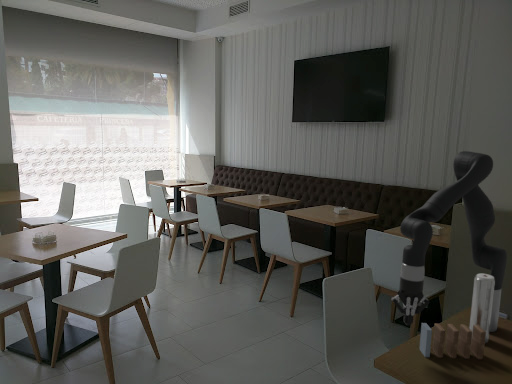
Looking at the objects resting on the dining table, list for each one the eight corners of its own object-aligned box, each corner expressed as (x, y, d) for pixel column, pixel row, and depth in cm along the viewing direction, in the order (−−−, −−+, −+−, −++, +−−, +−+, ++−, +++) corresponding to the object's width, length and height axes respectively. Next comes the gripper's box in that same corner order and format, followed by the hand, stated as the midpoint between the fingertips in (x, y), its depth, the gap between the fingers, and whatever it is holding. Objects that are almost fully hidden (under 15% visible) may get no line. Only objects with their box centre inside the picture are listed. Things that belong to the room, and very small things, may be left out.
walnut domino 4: (478, 359, 135) (481, 331, 133) (470, 351, 140) (473, 324, 138) (482, 359, 135) (485, 332, 133) (475, 351, 140) (478, 324, 138)
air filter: (488, 337, 149) (495, 274, 146) (488, 345, 144) (495, 280, 140) (468, 332, 152) (475, 271, 149) (468, 340, 147) (474, 276, 143)
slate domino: (424, 349, 140) (426, 323, 139) (429, 357, 135) (432, 330, 134) (419, 349, 140) (421, 322, 139) (424, 357, 135) (427, 329, 134)
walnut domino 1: (438, 357, 135) (440, 330, 134) (432, 349, 140) (434, 323, 138) (442, 357, 135) (445, 330, 134) (436, 349, 140) (439, 323, 138)
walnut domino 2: (451, 358, 135) (454, 330, 133) (445, 350, 140) (447, 323, 138) (456, 358, 135) (458, 331, 133) (449, 350, 140) (452, 324, 138)
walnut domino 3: (464, 358, 135) (467, 331, 133) (457, 350, 140) (460, 324, 138) (469, 358, 135) (472, 331, 133) (462, 350, 140) (465, 324, 138)
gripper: (396, 279, 130) (392, 328, 133) (436, 281, 130) (431, 330, 132) (389, 271, 138) (385, 318, 140) (427, 273, 137) (422, 320, 140)
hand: (407, 324), depth 136 cm, fingers closed
